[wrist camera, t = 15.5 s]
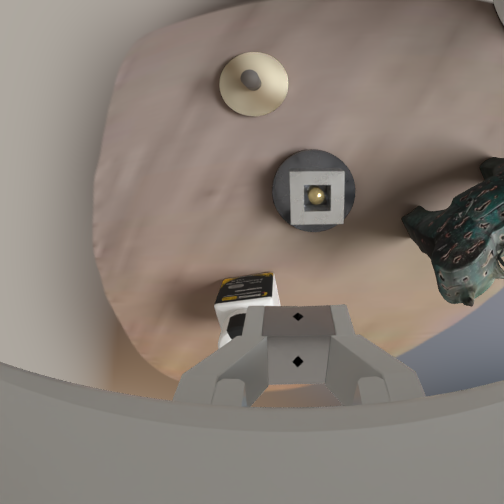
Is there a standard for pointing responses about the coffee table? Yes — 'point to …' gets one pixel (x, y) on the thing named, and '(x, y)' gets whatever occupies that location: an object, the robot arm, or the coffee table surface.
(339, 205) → the square tunnel block
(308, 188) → the hub
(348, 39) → the coffee table surface
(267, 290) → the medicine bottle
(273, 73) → the stand
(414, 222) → the bull figurine
